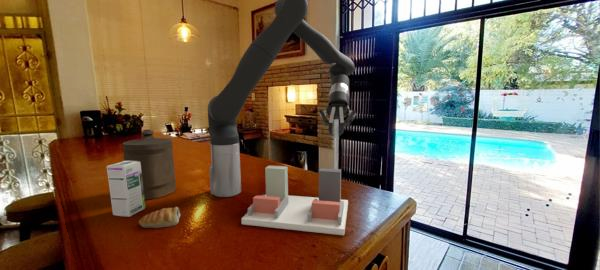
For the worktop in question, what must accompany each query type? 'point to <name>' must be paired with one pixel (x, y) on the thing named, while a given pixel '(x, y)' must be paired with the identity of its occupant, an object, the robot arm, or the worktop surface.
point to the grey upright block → (330, 185)
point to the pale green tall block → (276, 181)
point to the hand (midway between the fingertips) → (335, 133)
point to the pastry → (161, 218)
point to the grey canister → (153, 163)
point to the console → (298, 214)
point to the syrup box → (126, 188)
